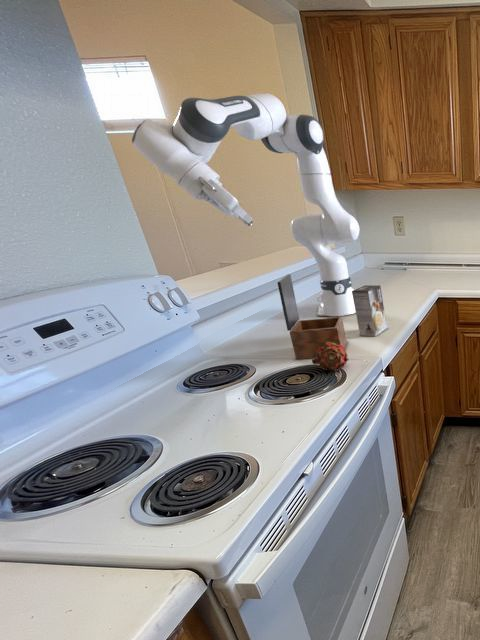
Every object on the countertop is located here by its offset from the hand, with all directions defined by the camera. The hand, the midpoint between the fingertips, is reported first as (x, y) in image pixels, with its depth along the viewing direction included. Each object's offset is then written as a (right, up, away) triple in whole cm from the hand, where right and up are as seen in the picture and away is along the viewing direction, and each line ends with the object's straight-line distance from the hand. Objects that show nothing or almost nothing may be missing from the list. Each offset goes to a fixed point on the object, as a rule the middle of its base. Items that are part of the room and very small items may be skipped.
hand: (251, 223), depth 117 cm
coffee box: (+25, -28, +33) cm, 50 cm away
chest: (+13, -35, +17) cm, 41 cm away
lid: (+6, -21, +9) cm, 23 cm away
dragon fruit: (+22, -41, +3) cm, 47 cm away
